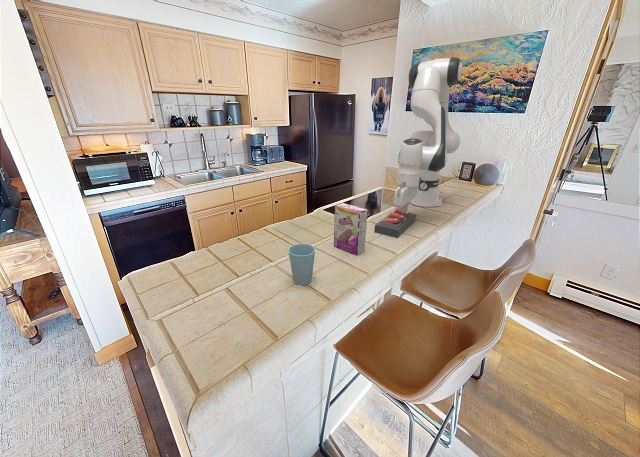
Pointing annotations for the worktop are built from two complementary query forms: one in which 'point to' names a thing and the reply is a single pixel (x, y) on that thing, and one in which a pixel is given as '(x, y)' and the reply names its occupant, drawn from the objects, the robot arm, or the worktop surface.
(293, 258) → the cup
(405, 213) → the rocker
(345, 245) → the candy bar box
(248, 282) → the worktop surface
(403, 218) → the rocker
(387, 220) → the rocker
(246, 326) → the worktop surface
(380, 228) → the rocker switch panel
